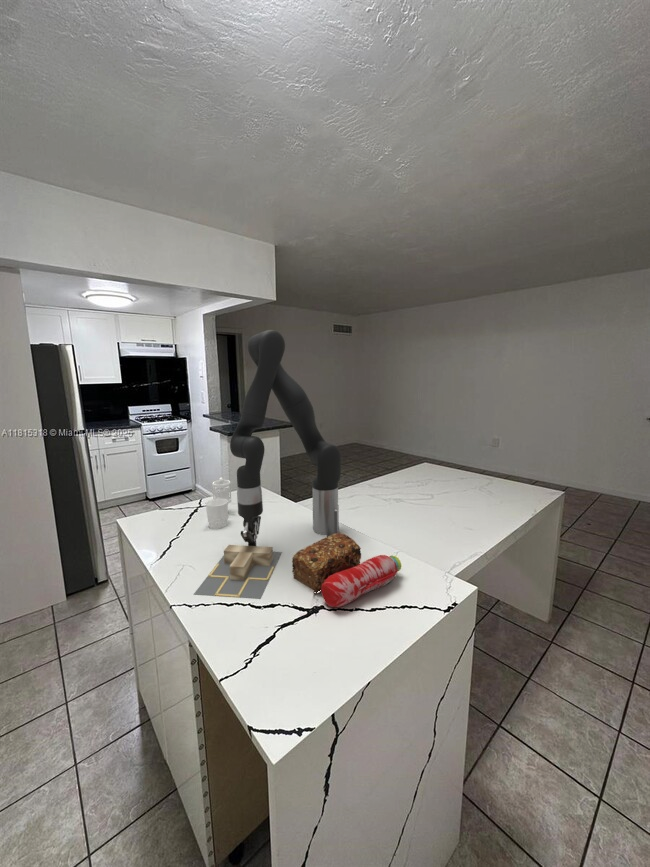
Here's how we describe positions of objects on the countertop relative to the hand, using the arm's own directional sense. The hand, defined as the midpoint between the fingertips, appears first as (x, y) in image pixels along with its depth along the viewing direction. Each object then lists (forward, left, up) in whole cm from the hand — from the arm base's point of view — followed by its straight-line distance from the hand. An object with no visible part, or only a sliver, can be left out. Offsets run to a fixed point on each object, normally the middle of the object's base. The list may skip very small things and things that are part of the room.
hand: (252, 550), depth 112 cm
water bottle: (-34, +13, -3) cm, 37 cm away
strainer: (+23, -32, -2) cm, 40 cm away
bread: (-25, +8, -3) cm, 26 cm away
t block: (0, +8, -1) cm, 8 cm away
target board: (0, +10, -2) cm, 10 cm away
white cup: (+20, -20, -2) cm, 28 cm away
